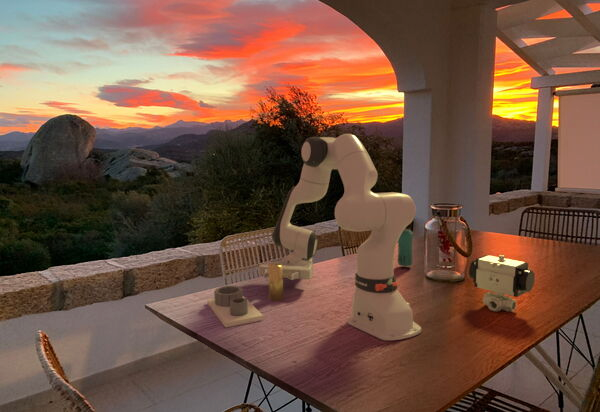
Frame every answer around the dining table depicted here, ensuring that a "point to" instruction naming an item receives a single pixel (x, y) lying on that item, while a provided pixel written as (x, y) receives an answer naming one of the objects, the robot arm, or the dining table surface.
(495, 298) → the ball valve
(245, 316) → the fitting plate
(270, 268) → the amber cylinder
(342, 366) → the dining table surface
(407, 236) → the beverage bottle
